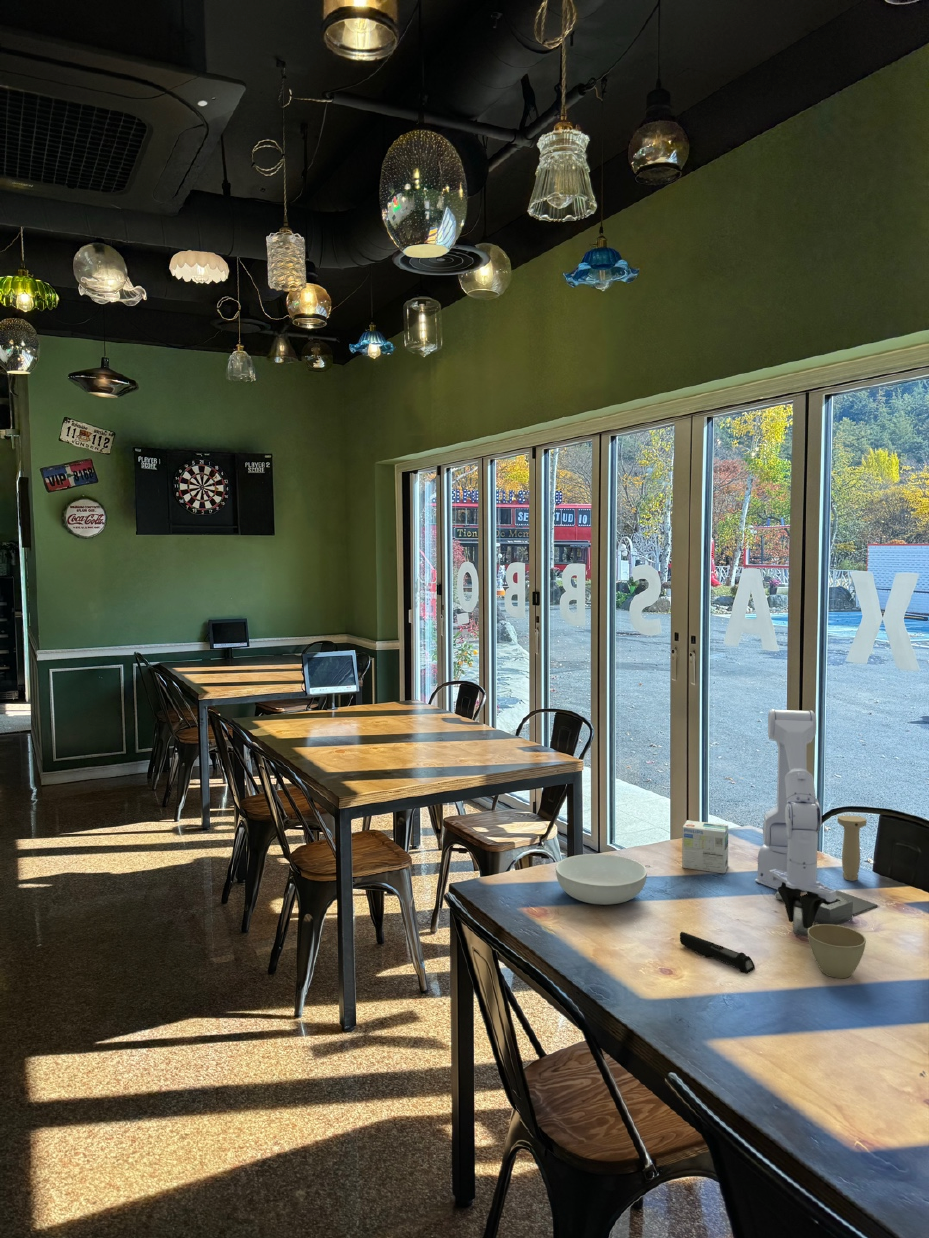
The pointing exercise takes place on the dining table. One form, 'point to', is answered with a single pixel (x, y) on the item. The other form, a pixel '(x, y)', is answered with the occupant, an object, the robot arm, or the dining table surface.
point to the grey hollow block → (832, 911)
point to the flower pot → (836, 949)
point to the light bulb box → (705, 846)
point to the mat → (857, 903)
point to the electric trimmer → (717, 952)
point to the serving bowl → (601, 878)
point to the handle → (851, 845)
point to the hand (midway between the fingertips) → (800, 923)
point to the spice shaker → (798, 918)
